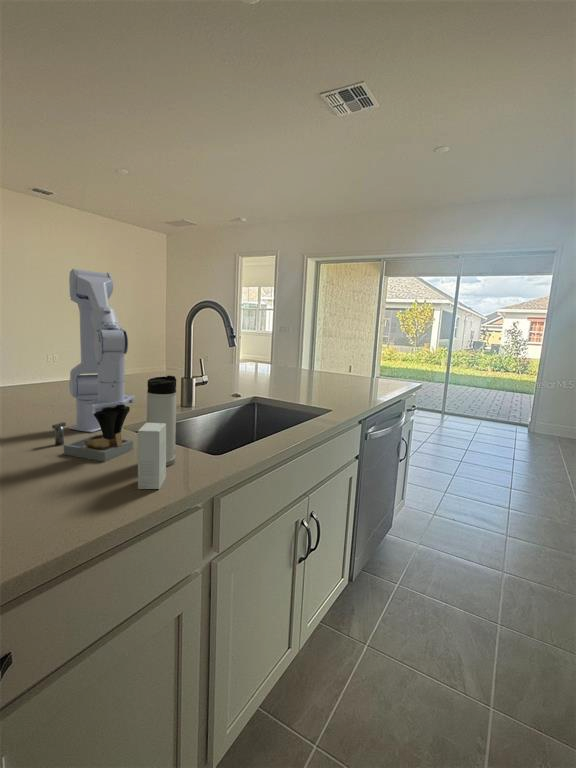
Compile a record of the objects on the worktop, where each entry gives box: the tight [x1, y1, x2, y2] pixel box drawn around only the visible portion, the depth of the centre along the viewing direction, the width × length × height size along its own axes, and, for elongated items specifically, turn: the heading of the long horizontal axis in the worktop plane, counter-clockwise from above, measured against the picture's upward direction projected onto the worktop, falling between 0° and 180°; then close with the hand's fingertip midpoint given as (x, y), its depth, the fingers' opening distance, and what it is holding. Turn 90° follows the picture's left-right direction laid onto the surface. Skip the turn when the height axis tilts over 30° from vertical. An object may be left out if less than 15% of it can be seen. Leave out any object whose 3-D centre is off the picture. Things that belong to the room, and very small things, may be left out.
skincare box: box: [137, 422, 167, 490], centre depth 79 cm, size 6×4×12 cm
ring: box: [84, 431, 123, 450], centre depth 95 cm, size 6×9×3 cm
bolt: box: [51, 421, 67, 446], centre depth 98 cm, size 3×2×5 cm, turn 165°
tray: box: [63, 433, 134, 463], centre depth 95 cm, size 10×11×2 cm
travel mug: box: [146, 375, 177, 467], centre depth 90 cm, size 6×7×20 cm
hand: (111, 437), depth 94 cm, fingers closed on ring, 2 cm apart
